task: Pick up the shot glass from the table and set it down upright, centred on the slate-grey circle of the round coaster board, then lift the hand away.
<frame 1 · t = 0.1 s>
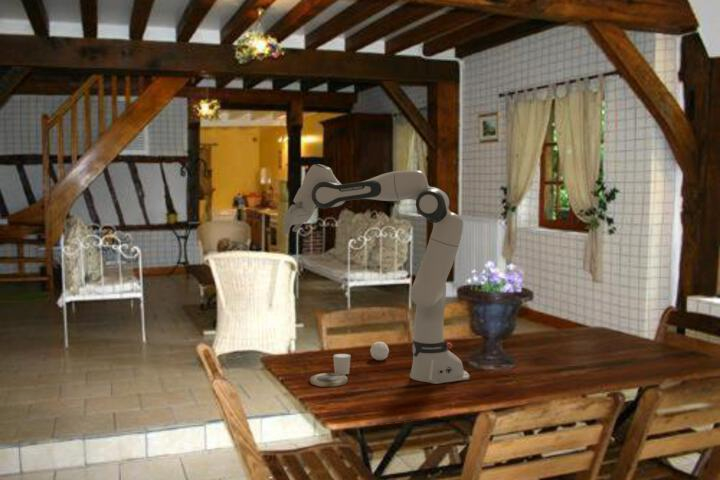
hand: (289, 232, 284), 54 cm above the table, tool tilted 30°, fingers open, 8 cm apart
geometric ball: (379, 360, 299), on the table
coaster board: (328, 381, 268), on the table
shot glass: (342, 373, 279), on the table
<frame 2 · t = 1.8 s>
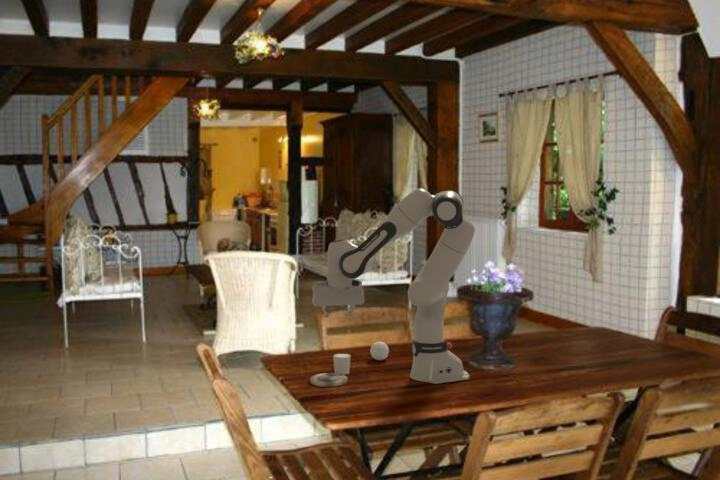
hand: (338, 316, 277), 22 cm above the table, tool pointing down, fingers open, 8 cm apart
nothing on the table moved.
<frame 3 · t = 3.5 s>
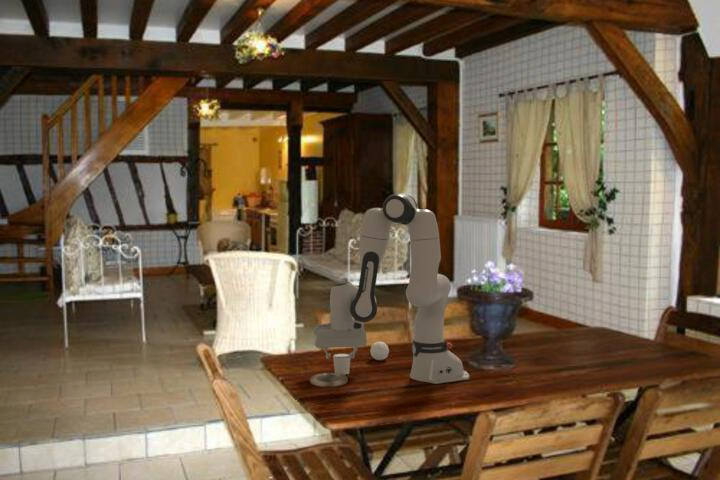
hand: (340, 358, 279), 6 cm above the table, tool pointing down, fingers open, 8 cm apart
nothing on the table moved.
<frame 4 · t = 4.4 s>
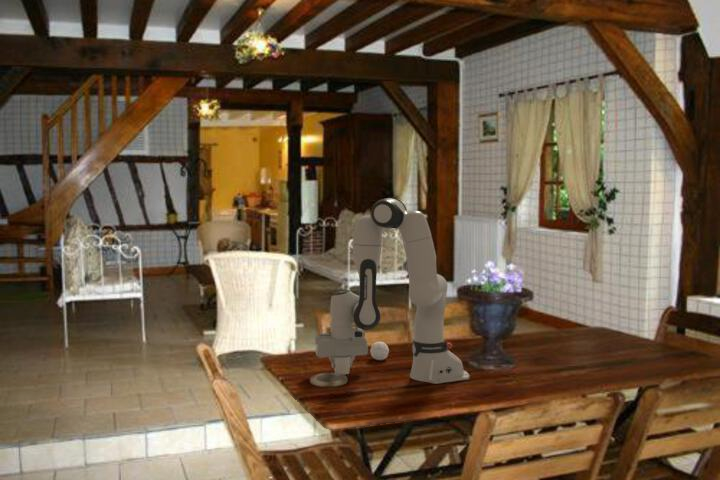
hand: (342, 367, 279), 2 cm above the table, tool pointing down, fingers closed on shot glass, 5 cm apart
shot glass: (342, 373, 279), on the table, touching gripper
everything else where it was.
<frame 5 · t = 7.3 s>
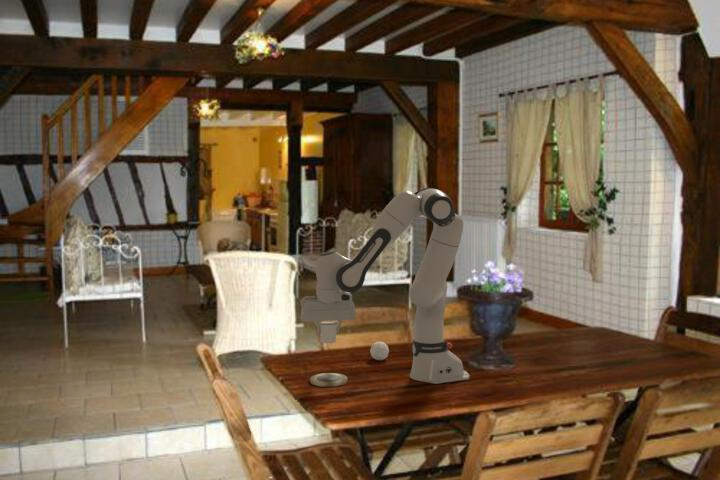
hand: (328, 332, 266), 19 cm above the table, tool pointing down, fingers closed on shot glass, 5 cm apart
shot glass: (328, 341, 267), point 15 cm above the table, touching gripper
everything else where it was.
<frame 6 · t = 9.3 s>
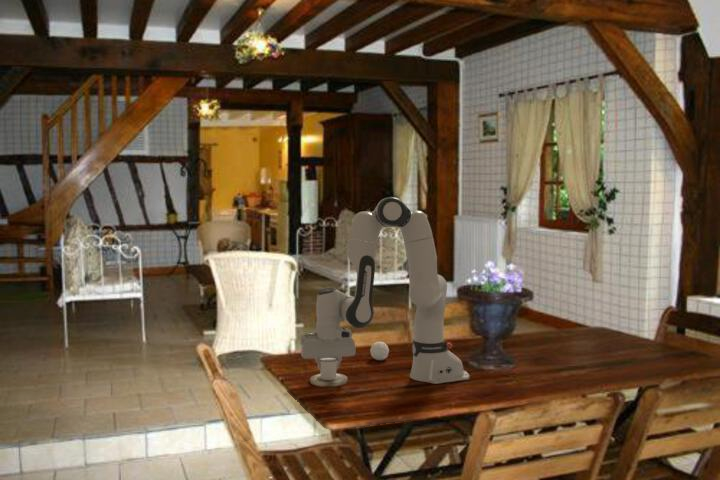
hand: (328, 368, 268), 5 cm above the table, tool pointing down, fingers closed on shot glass, 5 cm apart
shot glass: (328, 378, 268), point 1 cm above the table, touching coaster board, gripper
everything else where it was.
when the fingers open (5 cm above the table, at t = 9.4 s): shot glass stays where it is, resting on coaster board.
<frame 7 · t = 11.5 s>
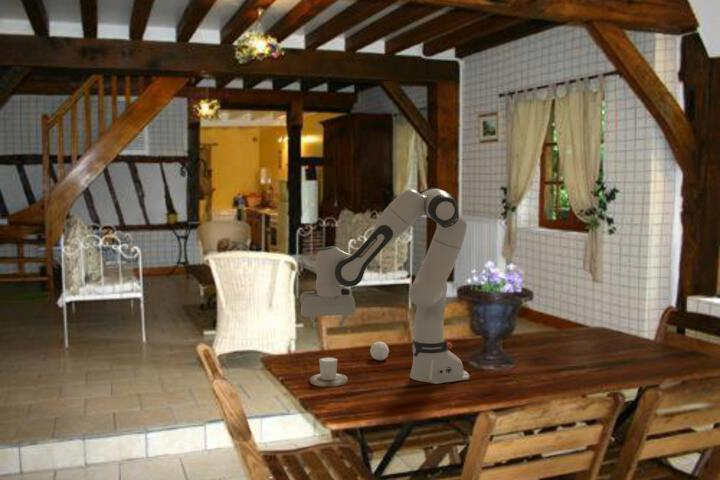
hand: (328, 327, 266), 21 cm above the table, tool pointing down, fingers open, 8 cm apart
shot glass: (328, 378, 268), point 1 cm above the table, touching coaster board
everything else where it was.
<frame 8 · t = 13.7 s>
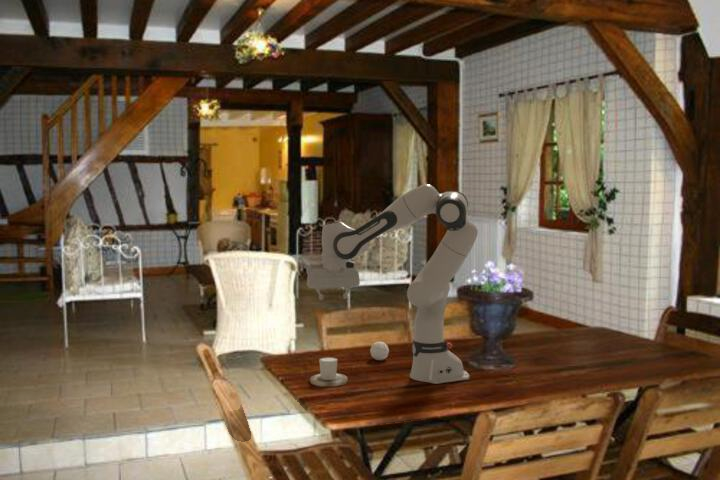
hand: (333, 299, 277), 29 cm above the table, tool pointing down, fingers open, 8 cm apart
nothing on the table moved.
at the end: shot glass 0.4 cm off-centre on the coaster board, point 1.1 cm above the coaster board's base; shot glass tilted 0°; the gripper is holding nothing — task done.
